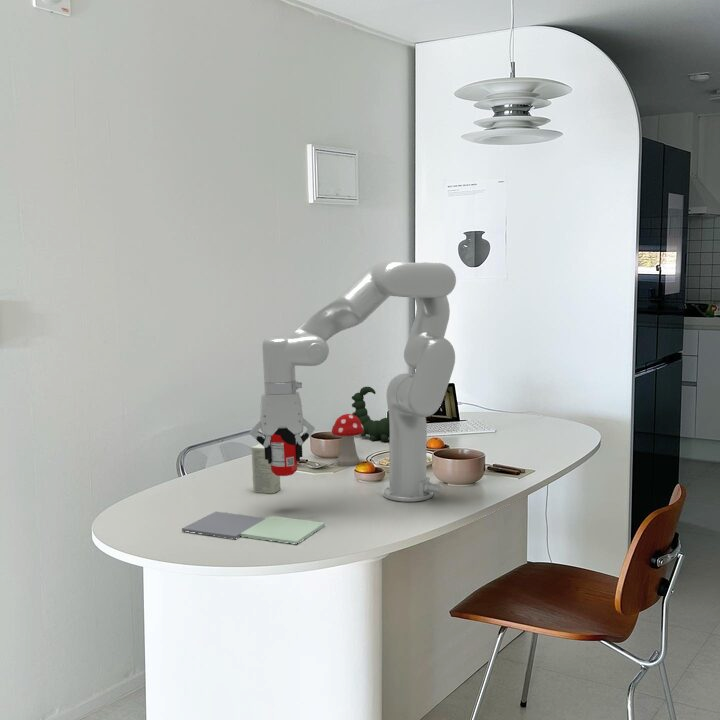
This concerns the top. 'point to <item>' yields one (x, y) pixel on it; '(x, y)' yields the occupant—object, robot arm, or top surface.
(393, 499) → the robot arm
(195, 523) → the grey pad
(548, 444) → the top surface
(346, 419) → the decorative mushroom
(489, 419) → the top surface
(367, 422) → the toy figurine
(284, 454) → the beverage can
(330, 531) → the top surface
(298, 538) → the green pad
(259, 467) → the skincare box
